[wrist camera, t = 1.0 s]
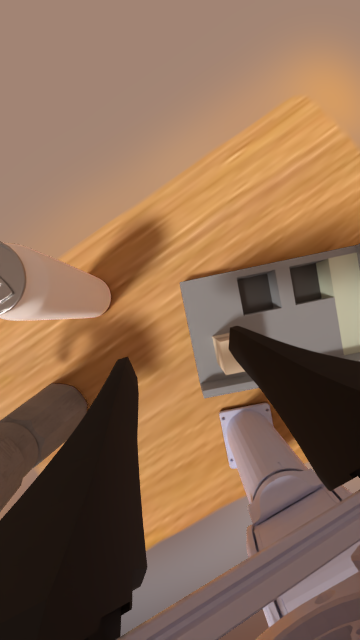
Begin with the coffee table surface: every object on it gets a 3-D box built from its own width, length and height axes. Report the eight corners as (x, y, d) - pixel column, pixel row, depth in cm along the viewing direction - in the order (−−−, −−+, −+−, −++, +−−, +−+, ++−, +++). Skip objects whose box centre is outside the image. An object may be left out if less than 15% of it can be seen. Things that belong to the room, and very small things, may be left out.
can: (97, 268, 22) (-5, 213, 10) (120, 303, 22) (47, 290, 10) (63, 291, 22) (-76, 264, 10) (86, 325, 22) (-24, 338, 10)
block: (244, 357, 20) (260, 368, 16) (217, 363, 20) (226, 375, 16) (239, 330, 20) (253, 335, 16) (212, 336, 20) (219, 341, 16)
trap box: (361, 351, 22) (402, 359, 18) (200, 383, 22) (204, 398, 18) (345, 250, 21) (383, 235, 17) (180, 285, 22) (179, 278, 18)
